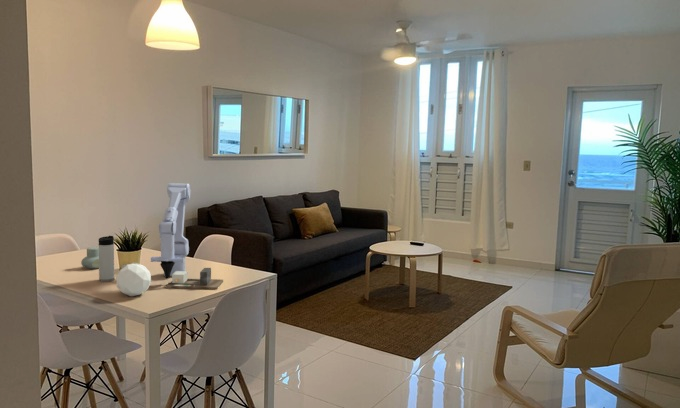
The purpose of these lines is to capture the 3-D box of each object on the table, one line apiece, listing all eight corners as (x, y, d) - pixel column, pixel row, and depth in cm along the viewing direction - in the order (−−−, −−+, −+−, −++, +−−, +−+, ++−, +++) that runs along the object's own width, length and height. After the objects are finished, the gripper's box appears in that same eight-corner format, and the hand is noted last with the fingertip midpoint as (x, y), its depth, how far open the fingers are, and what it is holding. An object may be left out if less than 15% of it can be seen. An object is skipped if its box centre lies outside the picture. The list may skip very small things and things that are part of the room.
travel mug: (118, 279, 233) (117, 236, 231) (107, 282, 227) (106, 238, 225) (107, 277, 235) (106, 235, 233) (96, 281, 229) (95, 237, 227)
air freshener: (88, 271, 246) (88, 250, 245) (78, 268, 250) (77, 248, 249) (108, 266, 255) (108, 247, 254) (98, 264, 259) (98, 245, 258)
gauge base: (166, 288, 221) (166, 272, 221) (175, 280, 234) (175, 265, 234) (216, 289, 222) (217, 273, 221) (223, 281, 235) (223, 266, 234)
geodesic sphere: (105, 287, 200) (128, 259, 202) (106, 278, 212) (127, 252, 214) (137, 306, 205) (158, 278, 207) (136, 296, 218) (156, 270, 220)
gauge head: (170, 285, 222) (170, 276, 221) (176, 279, 231) (176, 271, 230) (181, 285, 222) (181, 276, 222) (187, 280, 231) (187, 271, 230)
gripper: (148, 249, 222) (148, 279, 223) (181, 250, 222) (181, 280, 224) (153, 246, 229) (153, 275, 230) (185, 247, 229) (185, 276, 231)
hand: (167, 277), depth 228 cm, fingers closed
